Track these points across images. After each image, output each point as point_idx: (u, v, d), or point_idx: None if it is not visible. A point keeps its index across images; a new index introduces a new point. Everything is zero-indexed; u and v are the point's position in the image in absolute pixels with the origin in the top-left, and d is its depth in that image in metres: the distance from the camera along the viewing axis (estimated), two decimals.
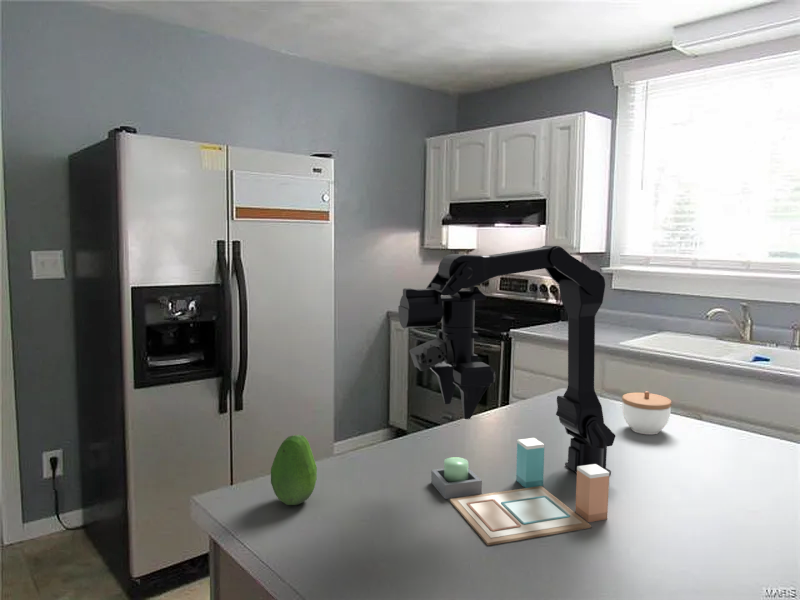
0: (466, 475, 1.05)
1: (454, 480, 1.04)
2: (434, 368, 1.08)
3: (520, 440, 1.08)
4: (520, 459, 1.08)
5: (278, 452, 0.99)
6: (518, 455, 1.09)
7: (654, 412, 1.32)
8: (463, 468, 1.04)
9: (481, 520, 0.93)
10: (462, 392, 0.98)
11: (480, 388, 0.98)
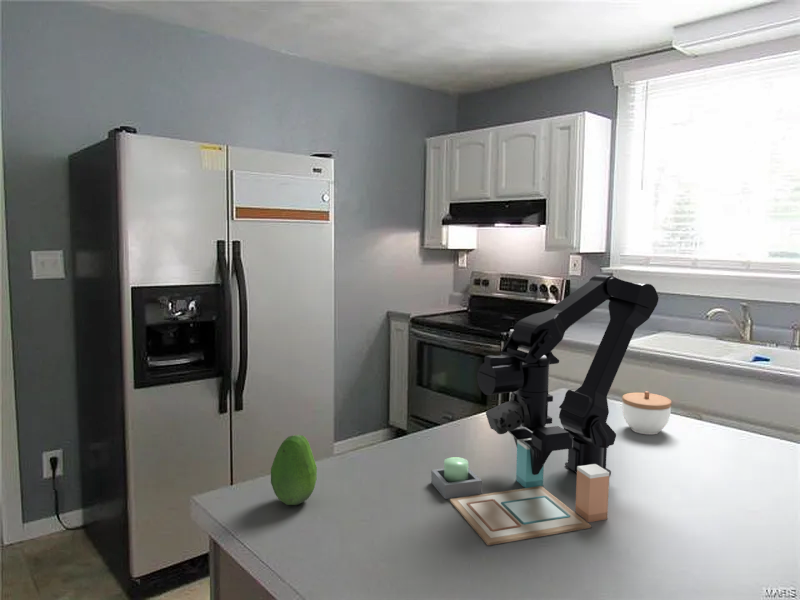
0: (466, 475, 1.05)
1: (454, 480, 1.04)
2: (512, 431, 1.09)
3: (520, 440, 1.08)
4: (520, 459, 1.08)
5: (278, 452, 0.99)
6: (518, 455, 1.08)
7: (654, 412, 1.32)
8: (463, 468, 1.04)
9: (481, 520, 0.93)
10: (532, 450, 1.04)
11: None
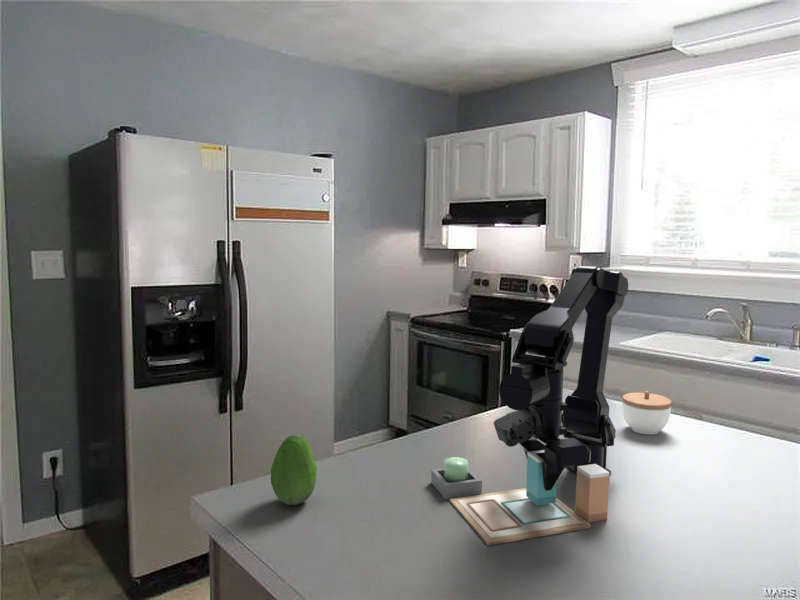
0: (466, 475, 1.05)
1: (454, 480, 1.04)
2: (522, 442, 1.00)
3: (531, 452, 0.99)
4: (531, 473, 0.98)
5: (278, 452, 0.99)
6: (528, 469, 0.99)
7: (654, 412, 1.32)
8: (463, 468, 1.04)
9: (481, 520, 0.93)
10: (545, 464, 0.95)
11: None
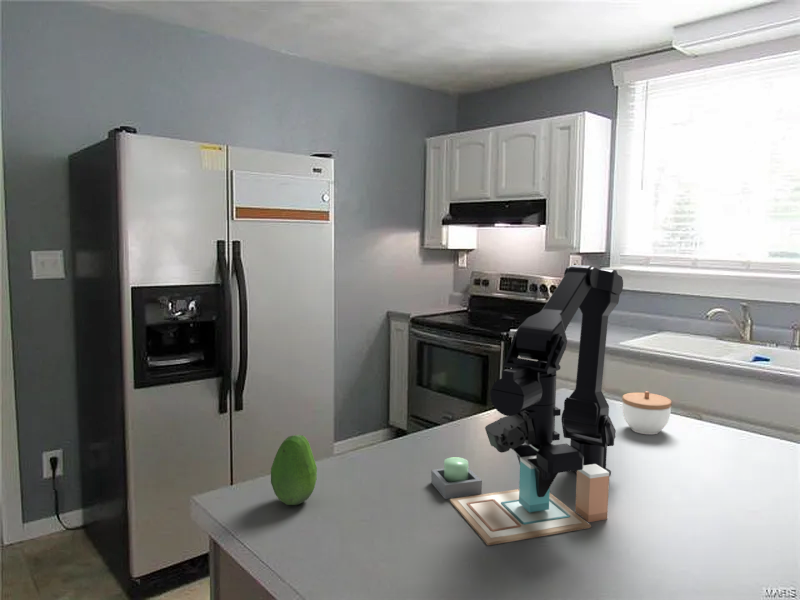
0: (466, 475, 1.05)
1: (454, 480, 1.04)
2: (515, 448, 0.98)
3: (523, 458, 0.97)
4: (524, 479, 0.96)
5: (278, 452, 0.99)
6: (521, 474, 0.97)
7: (654, 412, 1.32)
8: (463, 468, 1.04)
9: (481, 520, 0.93)
10: (537, 470, 0.93)
11: None
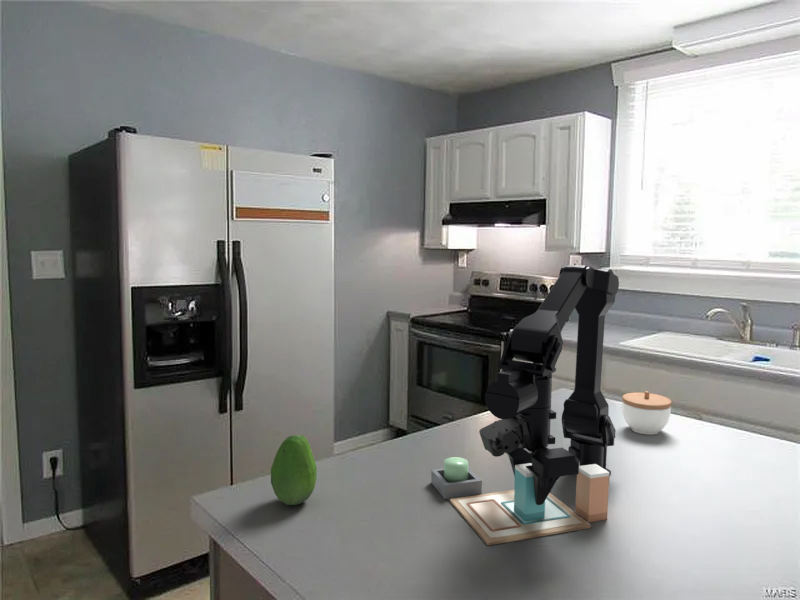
0: (466, 475, 1.05)
1: (454, 480, 1.04)
2: None
3: (518, 466, 0.95)
4: (519, 488, 0.94)
5: (278, 452, 0.99)
6: (516, 483, 0.95)
7: (654, 412, 1.32)
8: (463, 468, 1.04)
9: (481, 520, 0.93)
10: (536, 477, 0.90)
11: None
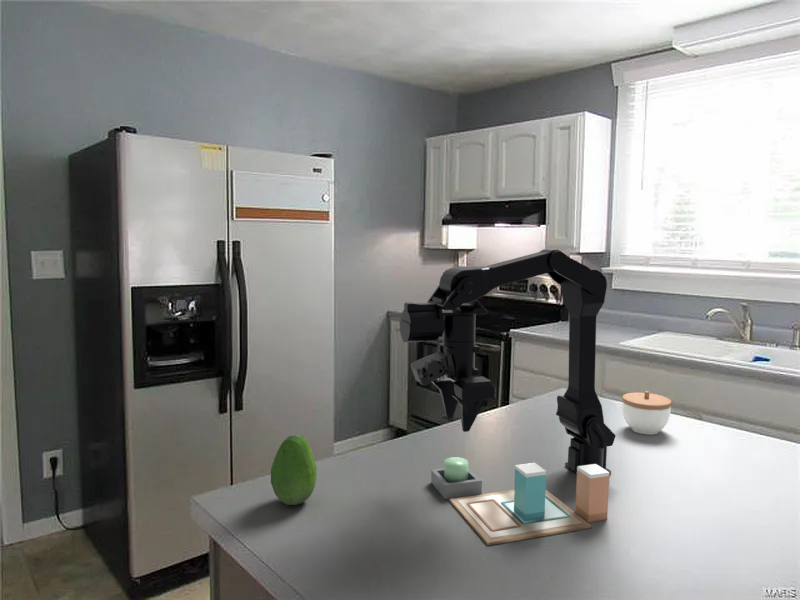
0: (466, 475, 1.05)
1: (454, 480, 1.04)
2: (436, 382, 1.07)
3: (518, 466, 0.95)
4: (519, 488, 0.94)
5: (278, 452, 0.99)
6: (516, 483, 0.95)
7: (654, 412, 1.32)
8: (463, 468, 1.04)
9: (481, 520, 0.93)
10: (461, 405, 0.99)
11: (479, 401, 0.99)
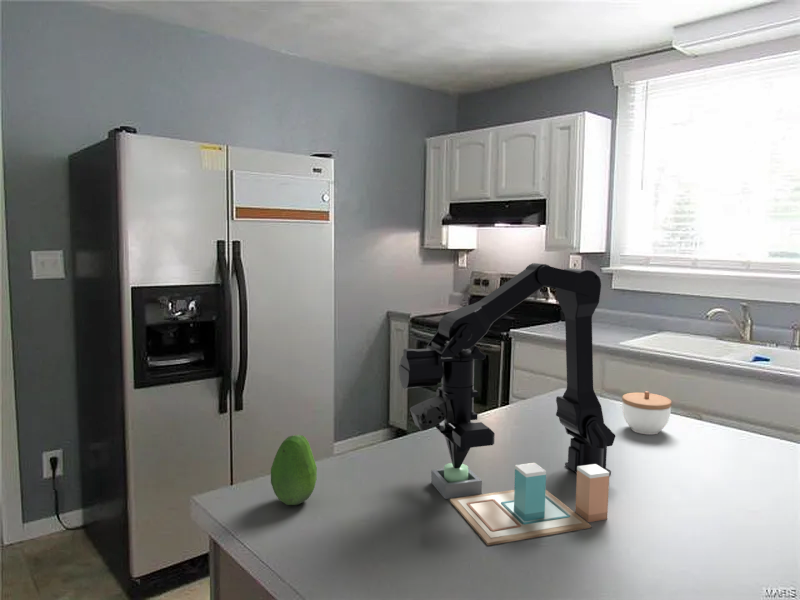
0: None
1: None
2: (443, 431, 1.05)
3: (518, 466, 0.95)
4: (519, 488, 0.94)
5: (278, 452, 0.99)
6: (516, 483, 0.95)
7: (654, 412, 1.32)
8: (463, 474, 1.04)
9: (481, 520, 0.93)
10: (452, 443, 1.03)
11: None
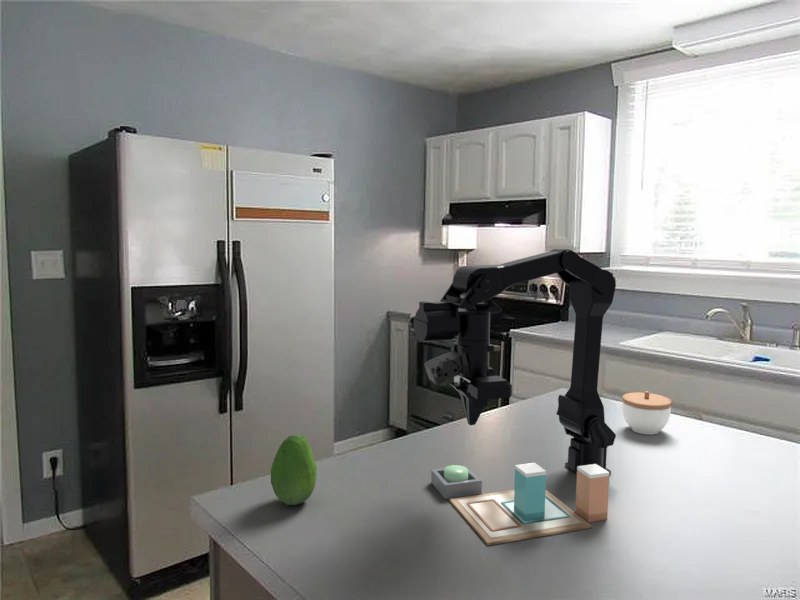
0: None
1: None
2: (457, 387, 1.03)
3: (518, 466, 0.95)
4: (519, 488, 0.94)
5: (278, 452, 0.99)
6: (516, 483, 0.95)
7: (654, 412, 1.32)
8: (463, 476, 1.04)
9: (481, 520, 0.93)
10: (467, 399, 1.01)
11: None
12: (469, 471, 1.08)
